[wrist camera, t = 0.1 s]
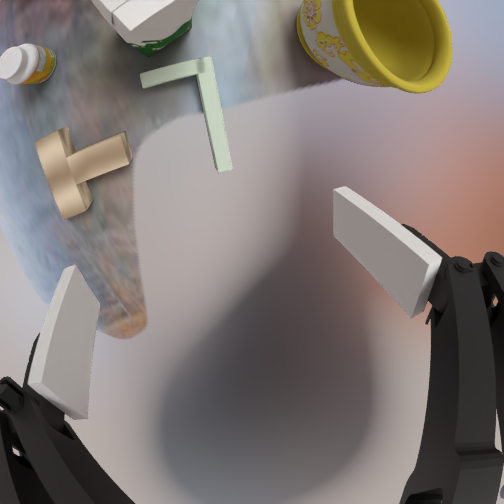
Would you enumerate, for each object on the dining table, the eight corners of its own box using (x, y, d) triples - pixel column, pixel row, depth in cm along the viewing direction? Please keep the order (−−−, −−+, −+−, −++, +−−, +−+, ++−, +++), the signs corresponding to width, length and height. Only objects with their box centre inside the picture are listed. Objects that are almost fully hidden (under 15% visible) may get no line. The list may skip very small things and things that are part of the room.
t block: (45, 137, 28) (34, 142, 25) (118, 104, 29) (112, 106, 26) (71, 208, 35) (63, 220, 32) (140, 182, 36) (138, 191, 33)
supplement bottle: (23, 85, 22) (-12, 87, 14) (31, 50, 19) (-2, 44, 12) (52, 82, 24) (20, 83, 16) (61, 47, 21) (31, 37, 14)
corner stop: (142, 75, 28) (139, 73, 26) (208, 59, 29) (211, 56, 27) (168, 180, 37) (168, 187, 35) (228, 164, 39) (233, 169, 36)
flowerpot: (392, 60, 34) (466, 67, 21) (322, 103, 37) (396, 119, 24) (342, -24, 24) (411, -47, 11) (256, 10, 27) (310, -29, 13)
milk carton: (164, -11, 21) (166, -88, 5) (201, 29, 27) (234, -29, 11) (110, 26, 23) (61, -25, 6) (148, 66, 28) (123, 37, 12)
